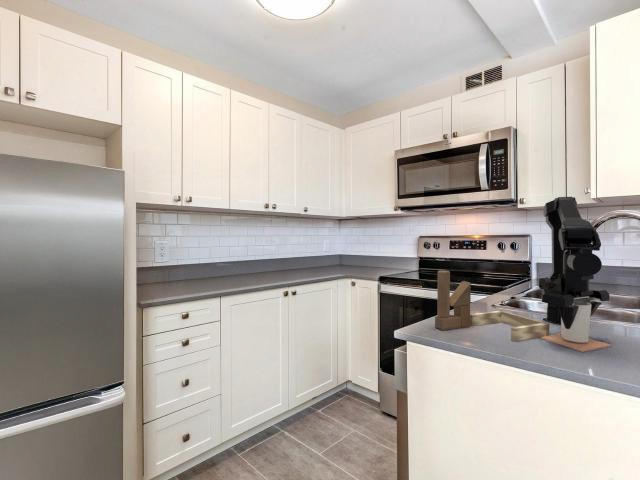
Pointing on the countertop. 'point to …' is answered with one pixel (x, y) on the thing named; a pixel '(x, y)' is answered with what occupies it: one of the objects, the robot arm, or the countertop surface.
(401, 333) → the countertop surface
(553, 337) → the terracotta mat
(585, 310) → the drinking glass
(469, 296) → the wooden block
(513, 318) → the beige angled bar
